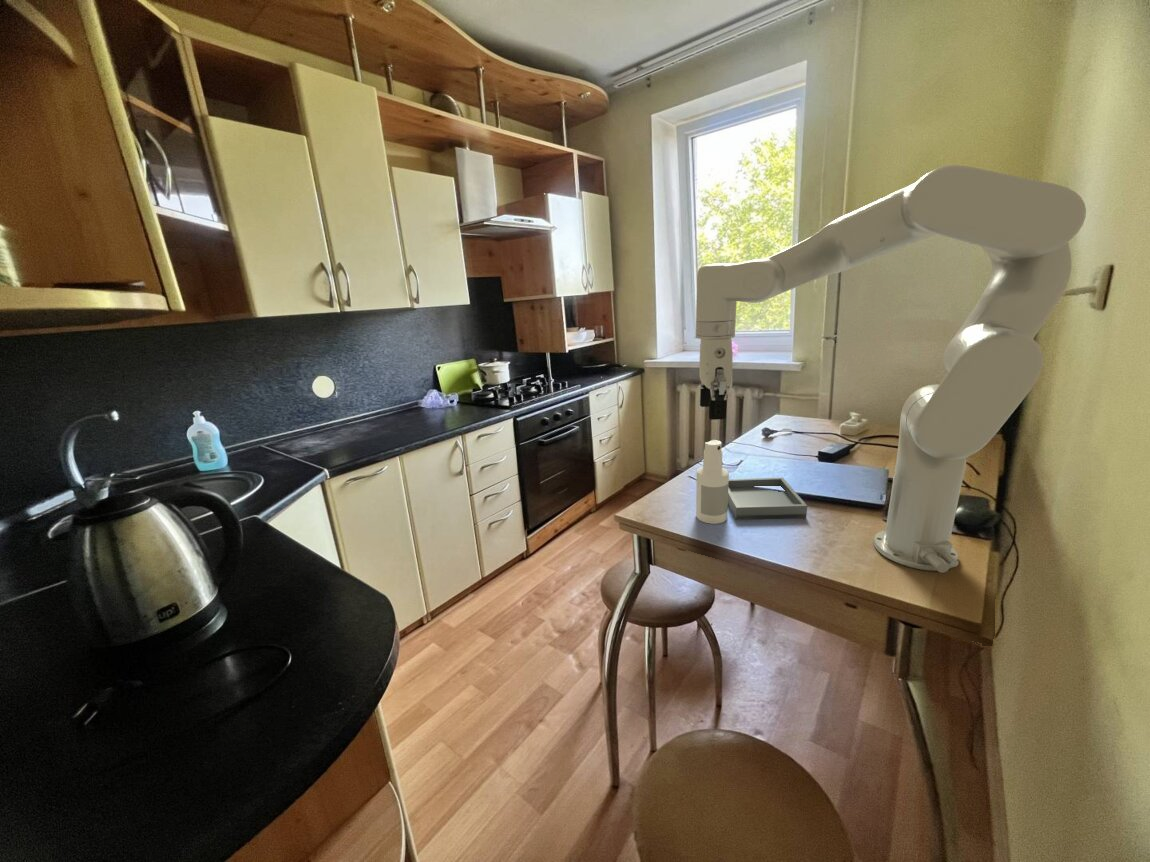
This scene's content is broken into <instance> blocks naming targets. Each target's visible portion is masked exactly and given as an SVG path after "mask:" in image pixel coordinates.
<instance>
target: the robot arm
mask: <svg viewBox="0 0 1150 862" xmlns="http://www.w3.org/2000/svg"><path fill="white" fill-rule="evenodd" d="M1085 204H1086V203H1085V201H1084V200H1083V198H1082V196H1081V195H1080V194H1079V193H1077V192H1076V191H1074V190H1073V189H1071V188H1069V187H1067V186H1064V185H1062V184H1056V183H1051V182H1048V181H1044V180H1043V181H1042V180H1038V179H1037V180H1036V179H1031V178H1027V177H1022V176H1016V175H1012V174H1006V173H1002V172H997V171H993V170H988V169H985V168H984V169H983V168H978V167H972V166H968V165H961V164H959V165H958V164H952V165H944V166H939V167H937V168H935V169H932V170H930V171H929V172H927V173H926V174H924V175H923V176H921V177H919V179H918V180H917V181H916V182H914V183H910V184H909V185H908V186H905V187H903V188H901V189H898V190H896V191H894V192H892V193H890V194H888V195H886V196H883V197H882V198H879V199H878V200H876V201H873V202H871V203H869V204H867V205H865V206H862V207H860V208H858V209H855V210H853V211H851V212H849V213H846V214H845V215H842V216H839V217H838V218H837V219H835V220H833V221H831V222H829V223H828V224H827V225H825V226H824V227H823V228H821V229H820V230H819V231H817V232H816V233H814V234H813V235H811V236H810V237H808V238H806V239H805V240H802V241H800V242H799V243H796V244H795V245H793V246H790V247H788V248H786V249H784V250H782V251H780V252H777V253H775V254H773V255H771V256H768V257H766V258H761V259H760V258H757V259H752V260H748V261H743V262H742V261H741V262H737V263H731V262H729V263H728V262H727V263H724V262H723V263H712V264H710V263H709V264H705V265H702V266H700V267H699V268H698V270H697V274H696V304H695V305H696V307H695V309H696V311H695V313H696V314H695V339H699V340H700V344H699V367H698V368H699V371H698V372H699V380H700V390H699V391H700V393H699V396H700V397H699V399H700V400H699V406H700V407H701V408H705V407H708V418H709V420H711V421H712V420H713V421H714V420H715V421H717V420H726V418H727V402H728V401H727V399H728V398H727V396H728V395H727V389H730V388H732V387H733V343H732V342H733V341H732V339H733V338H735V336H736V321H737V320H736V319H737V302H743V303H751V304H758V303H759V304H760V303H762V302H765V301H767V300H768V301H769V299H772V298H774V297H777V296H778V295H781V294H784V293H786V292H788V291H790V290H792V289H796V288H797V287H800V286H801V287H802V286H804V285H805V284H807V283H810V282H813V281H815V280H817V279H818V280H819V279H820V278H824V277H827V276H831V275H834V274H835V275H836V274H840V273H843V272H845V271H849V270H851V269H853V268H855V267H858V266H861V265H863V264H865V263H868V262H870V261H873V260H876V259H878V258H881V257H883V256H886V255H888V254H890V253H892V252H894V251H898V250H900V249H902V248H905V247H907V246H910V245H913V244H915V243H917V242H920V241H922V240H925V239H927V238H931V237H932V236H935V235H939V236H941V237H942V236H943V237H946V238H949V239H952V240H957V241H959V242H963V243H968V244H971V245H975V246H979V247H981V249H982V250H983V251H984V253H986V254H987V256H988V258H989V259H990V262H991V274H990V278H989V280H988V284H987V285H986V287H985V289H984V291H983V293H982V294H981V296H980V298H979V299H978V301H977V303H976V304H975V306H974V307H973V309H972V310H971V311H970V313H969V315H968V316H967V317H966V319H965V321H964V322H963V323H962V325H961V326H960V328H959V329H958V331H957V332H956V334H954V336H953V337H952V339H951V340H950V341H949V343H948V344H947V346H946V348H945V350H944V354H943V356H942V357H943V366H944V368H945V370H946V371H947V373H946V374H945V376H944V377H943V379H942V380H941V382H940V383H936V384H928V385H925V386H922V387H920V388H918V389H917V390H915V391H914V392H913V393H911V394H910V395H909V396H908V398H907V399H906V400H905V402H904V404H903V406H902V409H901V413H900V419H899V420H900V422H899V436H898V445H897V446H898V447H897V454H896V455H897V456H896V462H895V467H894V472H893V473H894V474H893V478H892V485H891V491H890V498H889V506H888V511H887V518H886V525H885V530H881V531H879V532H877V533H876V534H875V535H874V538H873V546H874V547H875V549H876V550H877V551H878V552H879V553H880V554H881V555H882V556H884V557H885V558H887V559H889V560H891V561H893V562H895V563H897V564H900V565H902V566H906V567H909V568H913V569H918V570H921V571H922V570H923V571H935V572H939V573H941V574H942V573H943V574H944V573H947V572H948V571H949V570H950V569H952V568H955V567H957V566H958V565H959V563H960V562H959V561H958V559H959V555H958V552H957V551H956V549H954V548H953V543H951V542H950V541H951V538H952V532H953V527H954V522H955V519H956V514H957V509H958V503H959V499H960V494H961V489H962V484H963V480H964V475H965V473H966V467H967V459H968V457H970V456H972V455H974V454H975V453H977V452H979V451H980V450H981V449H983V448H984V447H985V446H986V445H988V443H989V442H990V441H991V440H993V438H994V437H995V435H996V434H997V433H998V432H999V431H1000V429H1001V428H1002V427H1003V426H1004V424H1006V422H1007V421H1008V419H1009V418H1010V417H1011V415H1012V414H1013V413H1014V412H1015V410H1017V408H1018V407H1019V406H1020V404H1021V403H1022V402H1023V400H1024V399H1025V398H1026V396H1027V395H1028V394H1029V393H1030V392H1031V391H1032V389H1033V387H1034V385H1036V382H1037V381H1038V379H1039V378H1040V375H1041V372H1042V369H1043V365H1044V354H1043V351H1042V348H1041V347H1040V345H1039V343H1038V342H1037V341H1036V340H1035V337H1036V335H1037V334H1038V332H1039V331H1040V330H1041V328H1042V327H1043V326H1044V324H1045V322H1047V319H1048V318H1049V316H1050V315H1051V313H1053V310H1054V309H1055V307H1056V306H1057V304H1058V303H1059V301H1060V300H1061V298H1062V296H1063V294H1064V293H1065V291H1066V288H1067V287H1068V285H1069V281H1070V277H1071V274H1072V254H1071V246H1070V244H1069V242H1070V241H1071V240H1072V239H1074V237H1075V236H1076V235H1077V234H1078V233H1079V232H1080V230H1081V228H1082V227H1083V225H1084V222H1085V221H1086V218H1087V208H1086V205H1085Z"/></svg>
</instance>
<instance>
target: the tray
mask: <svg viewBox="0 0 1150 862" xmlns="http://www.w3.org/2000/svg"><path fill="white" fill-rule="evenodd" d="M754 486H781V487H782V488H783V489H784V490H785V492H778V491H773V490H767V489H759V488H755V487H754ZM728 507H729V509H730V511H731V513H732V515H733V517H734V519H735V520H739V521H740V520H744V521H745V520H777V519H778V520H782V519H783V520H784V519H786V520H787V519H788V520H789V519H807V516H808V515H807V514H808V505H807V503H806V502H805V501H804V500H803V499H802V498H801V497H800V496H799V494H798V493H797V492H796V491H795V490H794V489H793V488H792V486H790V484H789V483H788V482H787V481H786V480H785V478H784V477H767V478H765V477H764V478H763V477H762V478H736V479H735V478H732V479H730V478H729V486H728Z"/></svg>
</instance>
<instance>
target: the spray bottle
mask: <svg viewBox="0 0 1150 862" xmlns="http://www.w3.org/2000/svg"><path fill="white" fill-rule="evenodd" d="M722 445H723V444H722V441H720V440H716V439H711V440H710V441H707V442H706V441H705V442H704V450H703V461H702V467H701V466H700V467H699V468H698V469H697V470H696V492H695V493H696V494H695V495H696V504H695V505H696V506H695V508H696V509H695V511H696V512H695V513H696V518H697V520H699V521H701V522H703V523H705V524H711V525H718V524H721V523H724V522H726V520H727V519H728V510H729V508H728V507H729V505H728V486H729V479H730V474H729V471H728V470H727V469H726V468H724V467H723V450H722Z"/></svg>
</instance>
